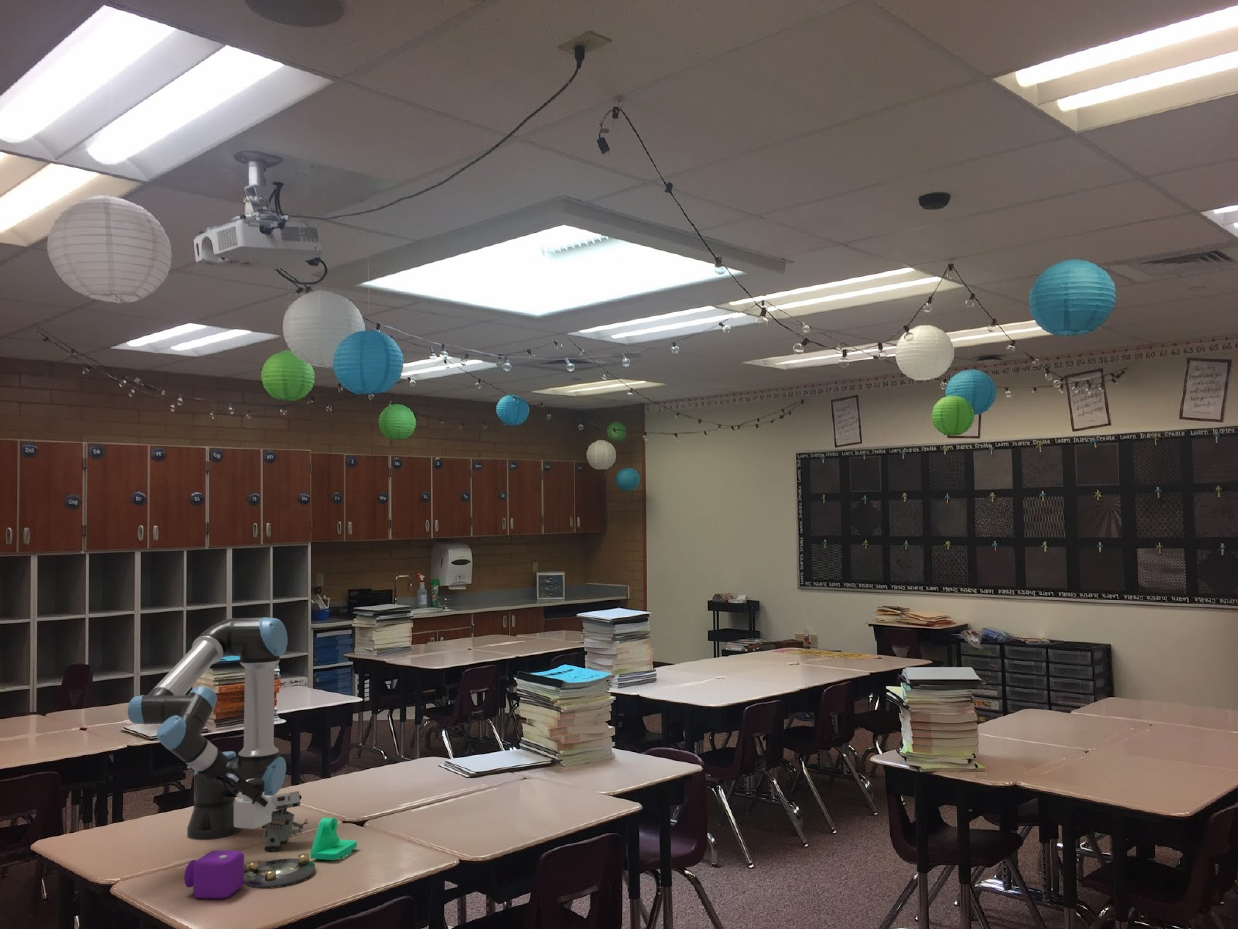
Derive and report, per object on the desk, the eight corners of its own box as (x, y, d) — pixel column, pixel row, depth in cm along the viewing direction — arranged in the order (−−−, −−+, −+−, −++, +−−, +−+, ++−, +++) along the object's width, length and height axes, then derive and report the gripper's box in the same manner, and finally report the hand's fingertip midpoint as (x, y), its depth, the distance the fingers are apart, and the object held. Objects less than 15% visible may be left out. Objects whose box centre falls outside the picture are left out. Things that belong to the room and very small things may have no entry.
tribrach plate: (230, 877, 251) (230, 863, 251) (293, 859, 264) (293, 846, 264) (262, 893, 239) (263, 879, 239) (327, 874, 252) (327, 860, 252)
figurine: (300, 851, 271) (300, 797, 273) (258, 852, 271) (259, 798, 272) (308, 840, 281) (308, 788, 282) (268, 842, 280) (269, 790, 281)
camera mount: (335, 864, 260) (335, 825, 261) (310, 862, 262) (310, 824, 263) (358, 850, 272) (358, 813, 272) (334, 848, 274) (334, 811, 274)
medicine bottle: (272, 821, 264) (272, 777, 265) (254, 829, 258) (254, 784, 259) (251, 819, 267) (251, 776, 268) (233, 827, 260) (233, 782, 261)
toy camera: (192, 887, 244) (192, 847, 245) (246, 884, 245) (247, 844, 246) (176, 903, 233) (176, 861, 234) (233, 900, 235) (234, 858, 235)
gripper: (180, 766, 260) (236, 812, 270) (215, 779, 245) (273, 827, 255) (199, 743, 264) (254, 789, 274) (235, 754, 249) (292, 803, 260)
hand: (263, 807), depth 265 cm, fingers closed on medicine bottle, 9 cm apart
